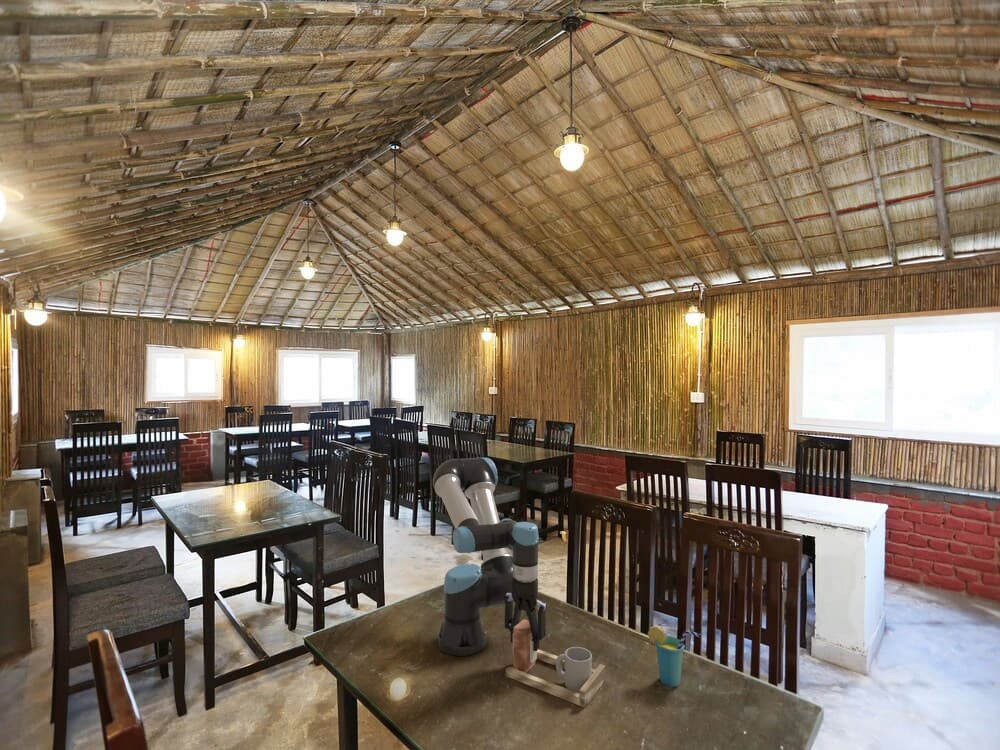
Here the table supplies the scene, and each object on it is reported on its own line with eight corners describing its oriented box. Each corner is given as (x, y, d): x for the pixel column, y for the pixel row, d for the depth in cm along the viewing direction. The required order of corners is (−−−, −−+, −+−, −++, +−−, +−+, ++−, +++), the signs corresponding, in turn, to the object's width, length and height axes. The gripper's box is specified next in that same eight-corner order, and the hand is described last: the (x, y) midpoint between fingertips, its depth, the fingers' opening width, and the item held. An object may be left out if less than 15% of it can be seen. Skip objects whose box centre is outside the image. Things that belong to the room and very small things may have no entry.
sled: (505, 676, 138) (506, 633, 138) (530, 653, 149) (530, 613, 150) (585, 707, 125) (585, 660, 125) (605, 680, 136) (605, 636, 136)
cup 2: (699, 679, 137) (699, 625, 137) (701, 695, 130) (701, 639, 130) (647, 668, 142) (648, 617, 142) (646, 684, 135) (646, 629, 135)
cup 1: (587, 698, 129) (587, 664, 129) (551, 687, 133) (551, 654, 133) (594, 683, 135) (594, 650, 135) (560, 673, 139) (560, 642, 139)
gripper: (492, 574, 145) (491, 653, 144) (546, 589, 135) (546, 674, 134) (505, 566, 151) (505, 642, 151) (558, 580, 141) (558, 661, 141)
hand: (524, 657), depth 143 cm, fingers open, 5 cm apart
